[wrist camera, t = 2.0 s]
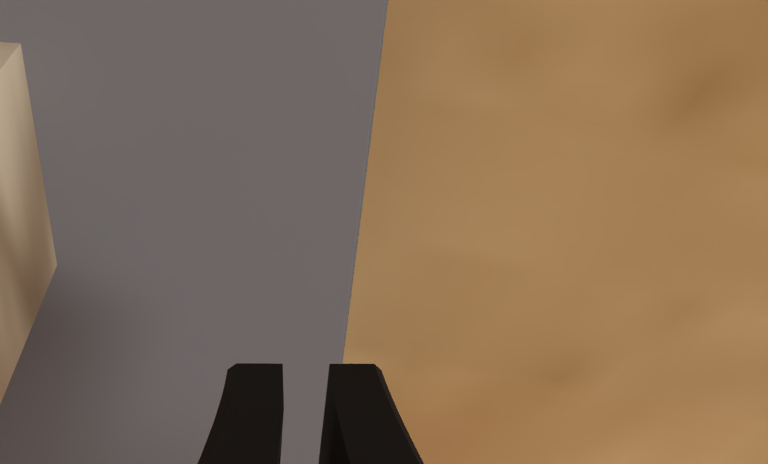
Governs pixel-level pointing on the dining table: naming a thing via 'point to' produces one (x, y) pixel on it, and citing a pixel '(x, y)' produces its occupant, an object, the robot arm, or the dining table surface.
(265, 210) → the box
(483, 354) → the dining table surface
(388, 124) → the dining table surface
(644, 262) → the dining table surface
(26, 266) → the maple block
